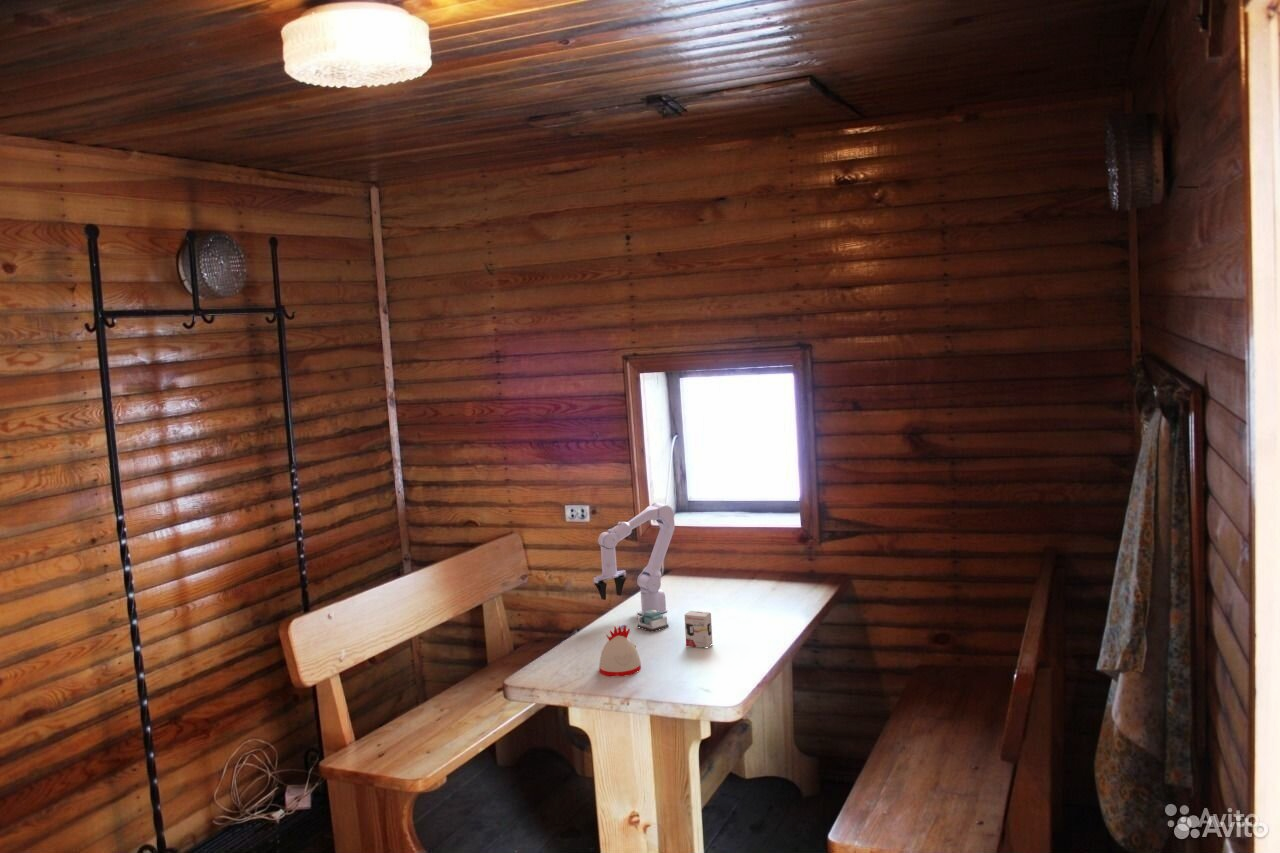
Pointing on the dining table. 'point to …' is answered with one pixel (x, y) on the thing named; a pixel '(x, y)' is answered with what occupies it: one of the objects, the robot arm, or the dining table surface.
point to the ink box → (698, 629)
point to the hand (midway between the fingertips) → (611, 597)
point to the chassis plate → (653, 623)
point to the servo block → (651, 615)
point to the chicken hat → (619, 655)
